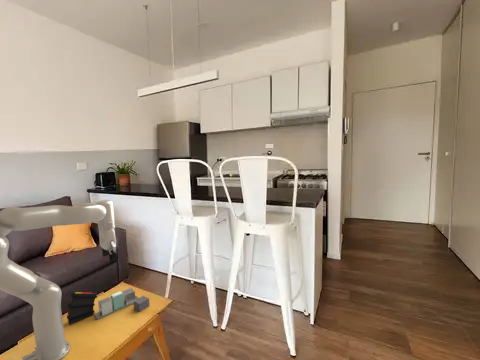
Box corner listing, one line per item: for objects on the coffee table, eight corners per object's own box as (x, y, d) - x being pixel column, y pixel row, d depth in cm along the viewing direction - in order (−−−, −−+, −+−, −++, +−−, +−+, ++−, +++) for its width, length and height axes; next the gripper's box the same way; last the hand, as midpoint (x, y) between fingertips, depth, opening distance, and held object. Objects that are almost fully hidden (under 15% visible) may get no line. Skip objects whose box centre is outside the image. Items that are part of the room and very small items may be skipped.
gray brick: (139, 312, 134) (139, 304, 133) (134, 308, 136) (133, 301, 136) (149, 306, 139) (148, 298, 138) (143, 303, 141) (143, 295, 141)
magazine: (59, 322, 124) (72, 290, 127) (88, 320, 134) (99, 291, 136) (61, 325, 122) (74, 293, 125) (90, 324, 131) (101, 294, 134)
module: (114, 310, 134) (113, 297, 133) (111, 306, 137) (110, 294, 136) (124, 305, 137) (123, 293, 137) (121, 302, 140) (120, 290, 139)
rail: (97, 320, 128) (95, 306, 127) (94, 315, 131) (92, 302, 130) (140, 300, 143) (139, 288, 142) (136, 297, 147) (135, 285, 146)
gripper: (92, 223, 130) (96, 255, 132) (104, 230, 118) (108, 266, 120) (108, 220, 135) (111, 251, 137) (121, 227, 123) (124, 260, 125)
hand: (109, 258), depth 128 cm, fingers open, 9 cm apart
